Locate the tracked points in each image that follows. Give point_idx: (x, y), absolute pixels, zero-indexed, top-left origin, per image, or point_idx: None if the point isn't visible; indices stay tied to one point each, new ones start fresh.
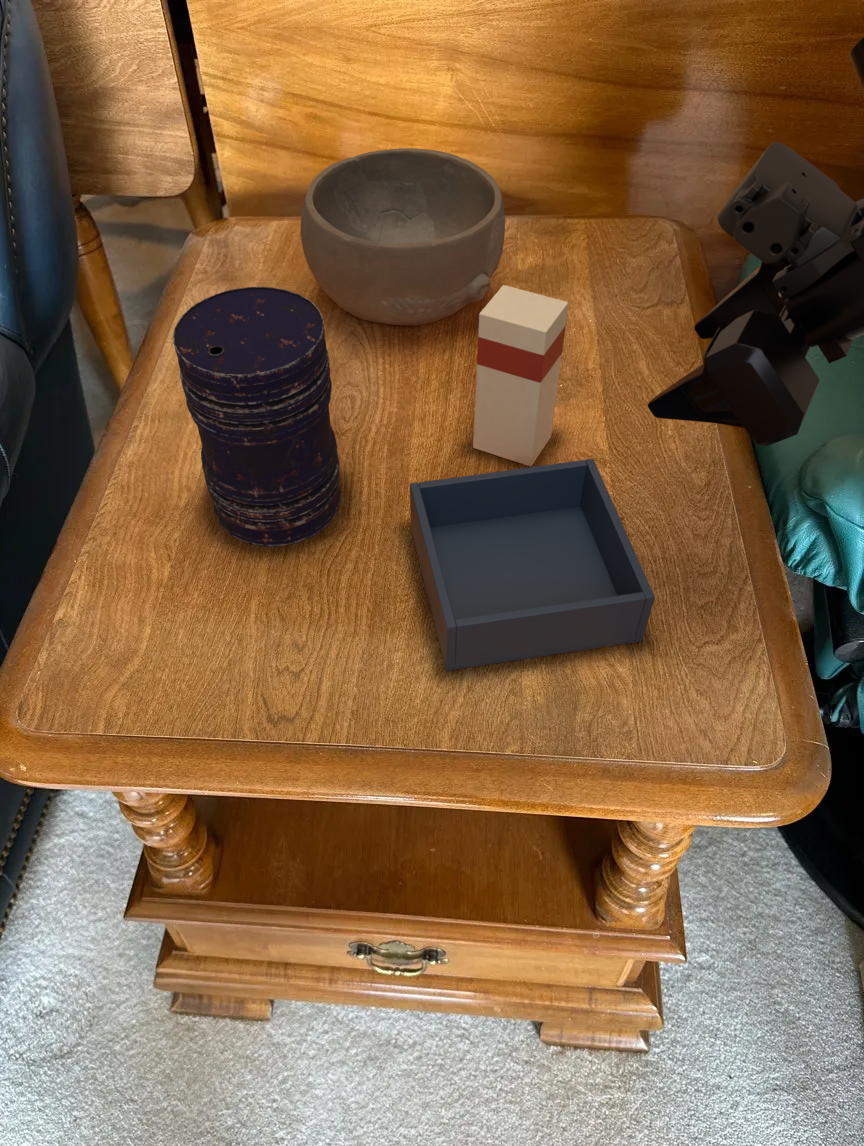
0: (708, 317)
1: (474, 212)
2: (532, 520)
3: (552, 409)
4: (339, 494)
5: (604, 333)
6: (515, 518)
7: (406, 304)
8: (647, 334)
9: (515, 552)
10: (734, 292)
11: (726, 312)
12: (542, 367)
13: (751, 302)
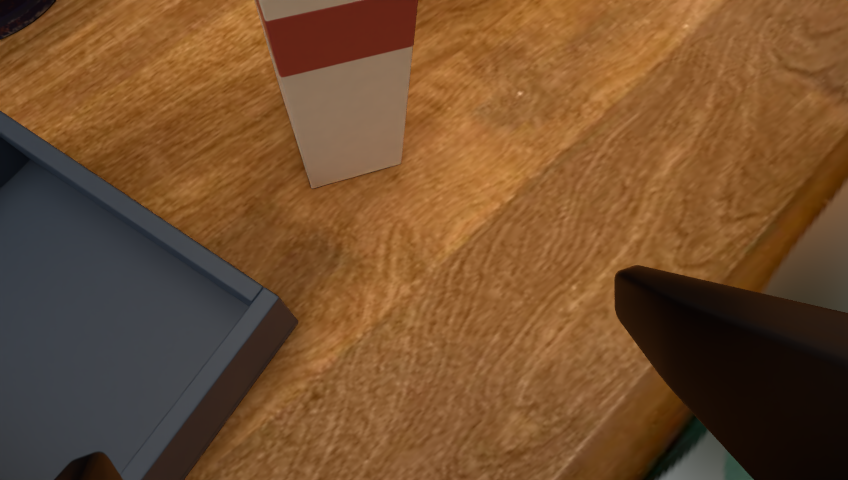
0: (661, 300)
1: None
2: (181, 285)
3: (390, 131)
4: (16, 16)
5: (681, 61)
6: (165, 259)
7: None
8: (741, 111)
9: (85, 319)
10: (810, 343)
11: (721, 355)
12: (274, 48)
13: (837, 441)
